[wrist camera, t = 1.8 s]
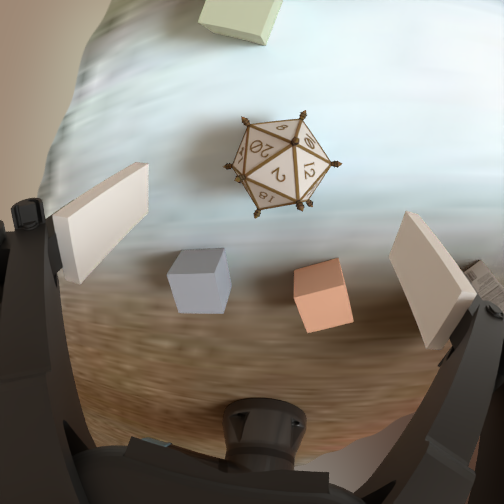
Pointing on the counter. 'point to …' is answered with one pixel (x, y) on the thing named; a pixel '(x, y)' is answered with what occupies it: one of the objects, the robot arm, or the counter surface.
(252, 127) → the game die
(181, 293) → the slate cube
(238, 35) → the sage cube
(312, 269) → the terracotta cube
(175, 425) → the counter surface
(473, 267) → the coffee box
